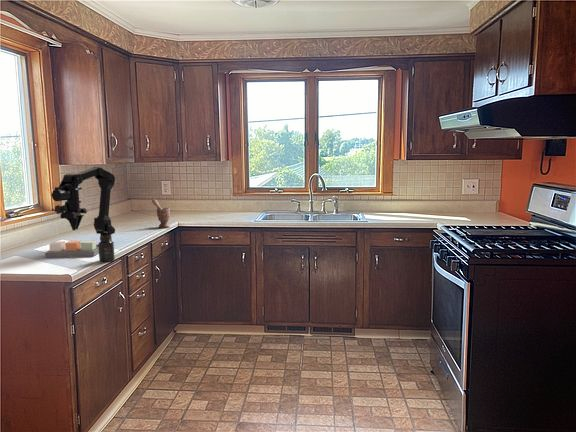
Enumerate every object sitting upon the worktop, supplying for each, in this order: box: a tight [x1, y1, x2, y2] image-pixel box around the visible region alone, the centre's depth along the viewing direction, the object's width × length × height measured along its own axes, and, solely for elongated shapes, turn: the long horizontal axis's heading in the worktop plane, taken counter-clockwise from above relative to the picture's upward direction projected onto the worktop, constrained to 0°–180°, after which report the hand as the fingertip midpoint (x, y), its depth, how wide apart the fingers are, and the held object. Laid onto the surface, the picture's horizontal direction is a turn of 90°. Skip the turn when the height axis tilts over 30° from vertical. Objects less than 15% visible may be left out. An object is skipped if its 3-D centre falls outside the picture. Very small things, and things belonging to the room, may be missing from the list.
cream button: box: [48, 240, 66, 252], centre depth 221 cm, size 5×5×4 cm
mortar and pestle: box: [151, 198, 171, 229], centre depth 297 cm, size 12×9×20 cm
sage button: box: [81, 240, 97, 251], centre depth 222 cm, size 5×5×4 cm
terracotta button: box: [65, 240, 82, 251], centre depth 222 cm, size 5×5×4 cm
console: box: [44, 246, 99, 259], centre depth 222 cm, size 10×23×2 cm, turn 95°
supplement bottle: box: [97, 235, 116, 263], centre depth 210 cm, size 7×7×12 cm
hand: (75, 229), depth 225 cm, fingers open, 3 cm apart
